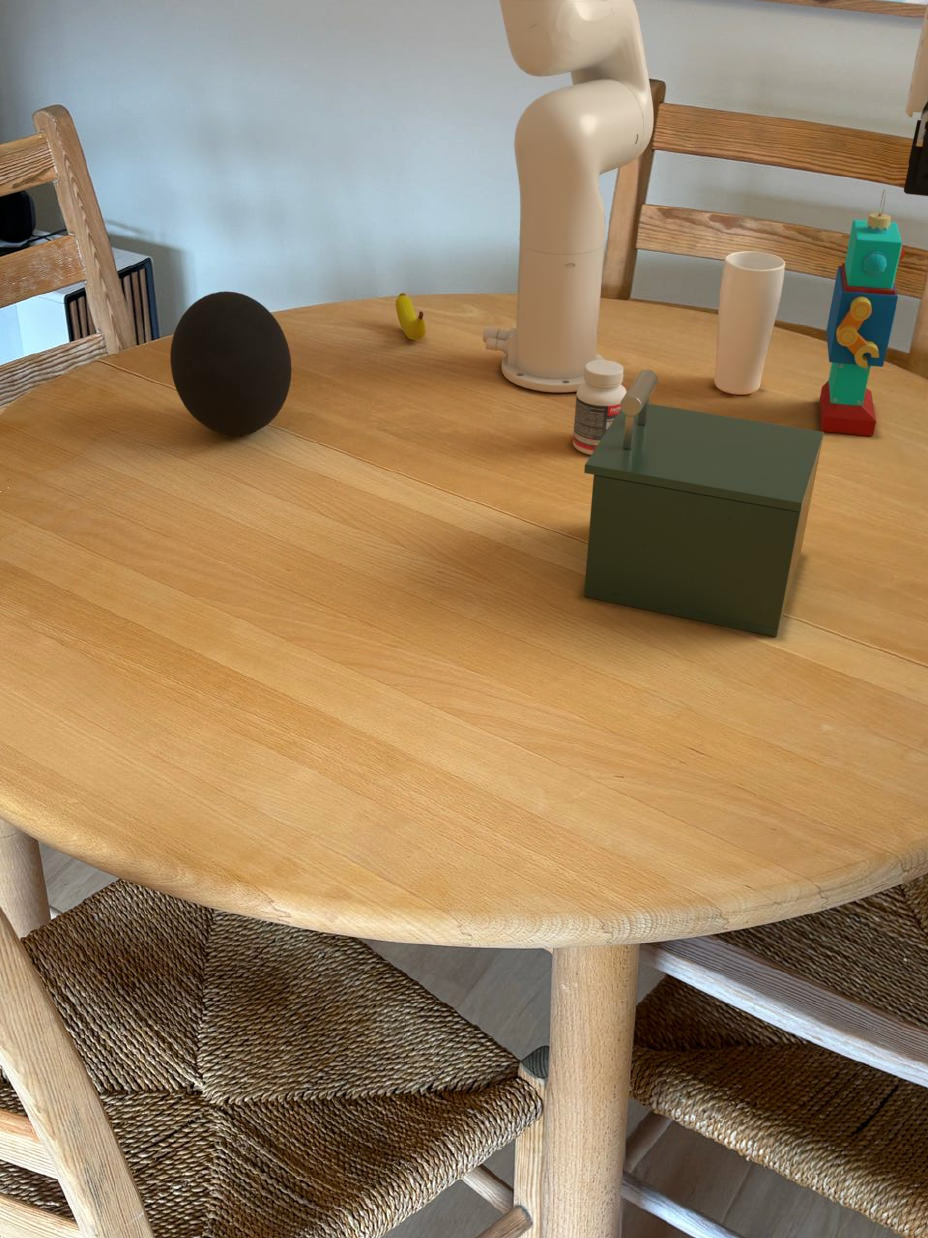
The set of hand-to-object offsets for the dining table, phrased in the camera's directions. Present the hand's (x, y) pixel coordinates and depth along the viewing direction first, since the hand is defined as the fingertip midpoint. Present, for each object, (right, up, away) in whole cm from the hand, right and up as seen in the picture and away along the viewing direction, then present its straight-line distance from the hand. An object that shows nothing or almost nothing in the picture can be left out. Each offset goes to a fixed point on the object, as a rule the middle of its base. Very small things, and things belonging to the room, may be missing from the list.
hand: (923, 180), depth 112 cm
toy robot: (+1, -17, +27) cm, 32 cm away
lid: (-21, -26, -8) cm, 34 cm away
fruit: (-48, -4, +45) cm, 66 cm away
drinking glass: (-10, -13, +33) cm, 37 cm away
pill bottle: (-27, -21, +20) cm, 40 cm away
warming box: (-21, -36, -1) cm, 41 cm away
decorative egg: (-66, -19, +22) cm, 72 cm away
